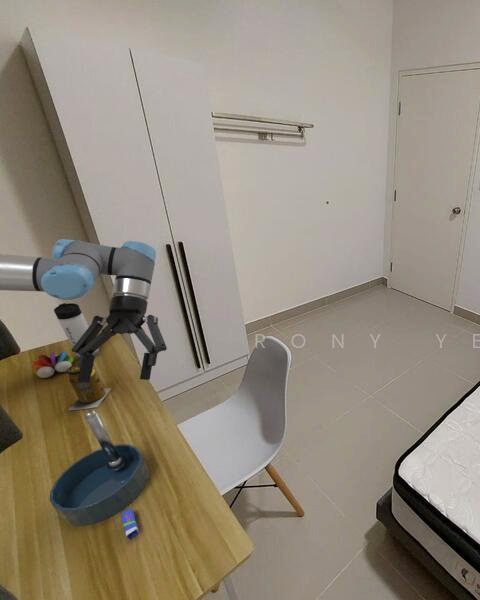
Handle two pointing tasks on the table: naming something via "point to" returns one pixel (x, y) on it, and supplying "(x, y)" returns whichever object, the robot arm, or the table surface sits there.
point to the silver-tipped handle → (105, 442)
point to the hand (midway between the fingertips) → (114, 381)
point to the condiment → (86, 389)
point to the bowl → (98, 486)
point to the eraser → (129, 523)
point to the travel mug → (72, 322)
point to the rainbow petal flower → (52, 364)
